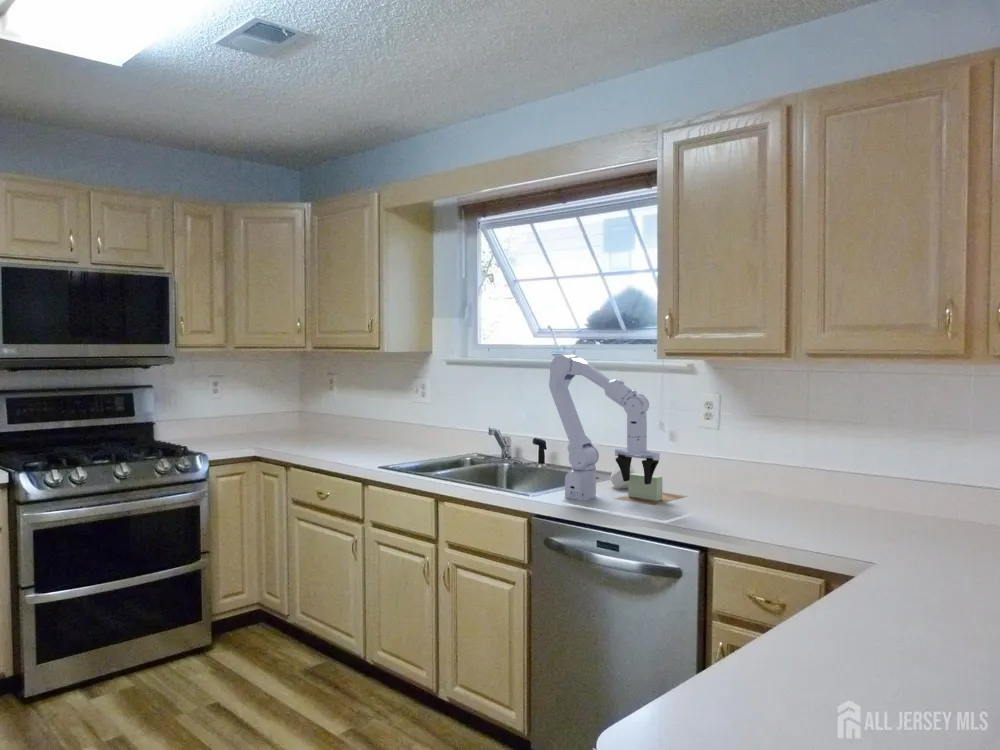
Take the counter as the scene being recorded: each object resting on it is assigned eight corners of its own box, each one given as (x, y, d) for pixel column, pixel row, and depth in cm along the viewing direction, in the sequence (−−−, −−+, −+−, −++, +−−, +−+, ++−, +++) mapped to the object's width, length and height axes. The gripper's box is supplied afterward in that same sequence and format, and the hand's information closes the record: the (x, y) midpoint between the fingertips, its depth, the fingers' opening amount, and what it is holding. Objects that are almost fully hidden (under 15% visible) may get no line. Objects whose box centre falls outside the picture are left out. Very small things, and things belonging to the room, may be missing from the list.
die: (630, 494, 242) (644, 468, 244) (606, 480, 243) (620, 455, 246) (626, 499, 249) (640, 474, 252) (603, 485, 251) (616, 460, 254)
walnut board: (653, 507, 219) (653, 505, 219) (614, 500, 229) (613, 498, 229) (687, 498, 232) (687, 496, 232) (648, 492, 242) (648, 490, 242)
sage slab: (656, 501, 224) (656, 477, 224) (628, 497, 231) (628, 474, 231) (662, 500, 226) (662, 476, 226) (634, 495, 233) (634, 472, 233)
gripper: (665, 436, 223) (665, 483, 223) (624, 433, 233) (625, 477, 233) (651, 439, 218) (651, 486, 218) (610, 435, 228) (610, 480, 229)
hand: (636, 482), depth 225 cm, fingers open, 7 cm apart
